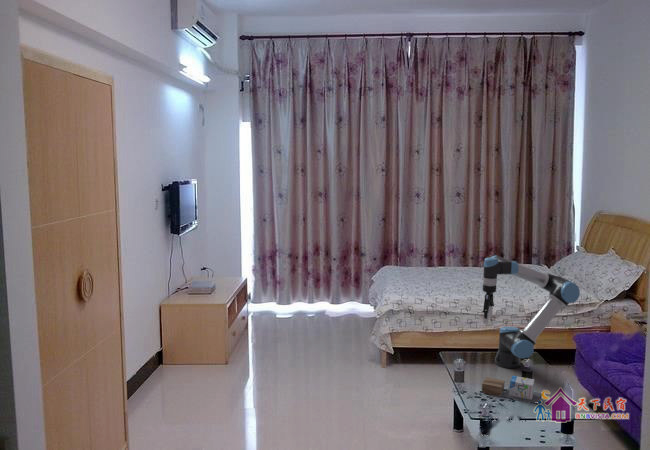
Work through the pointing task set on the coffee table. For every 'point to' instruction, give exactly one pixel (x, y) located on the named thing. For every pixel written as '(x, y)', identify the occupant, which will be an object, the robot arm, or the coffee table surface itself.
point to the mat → (535, 398)
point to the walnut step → (493, 386)
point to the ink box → (521, 387)
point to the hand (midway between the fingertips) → (487, 320)
